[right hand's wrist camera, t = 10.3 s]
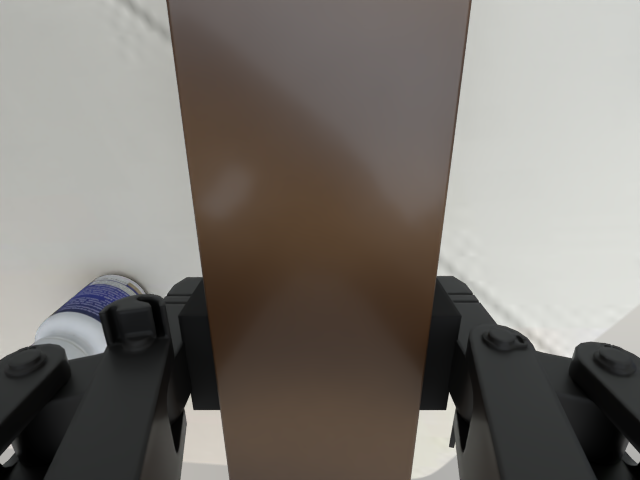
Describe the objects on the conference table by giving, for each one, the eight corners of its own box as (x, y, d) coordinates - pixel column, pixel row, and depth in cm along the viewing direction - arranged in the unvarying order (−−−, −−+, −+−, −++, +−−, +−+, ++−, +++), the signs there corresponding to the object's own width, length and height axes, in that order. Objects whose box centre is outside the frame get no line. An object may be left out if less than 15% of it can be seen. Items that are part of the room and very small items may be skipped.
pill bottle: (83, 270, 30) (-7, 336, 22) (147, 275, 30) (83, 343, 22) (92, 324, 32) (12, 404, 24) (152, 329, 32) (95, 409, 24)
